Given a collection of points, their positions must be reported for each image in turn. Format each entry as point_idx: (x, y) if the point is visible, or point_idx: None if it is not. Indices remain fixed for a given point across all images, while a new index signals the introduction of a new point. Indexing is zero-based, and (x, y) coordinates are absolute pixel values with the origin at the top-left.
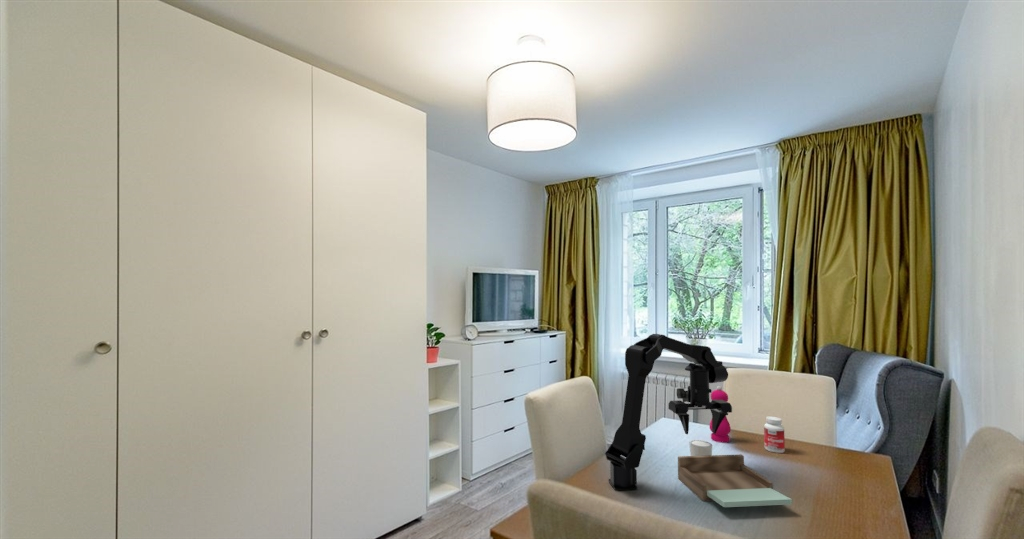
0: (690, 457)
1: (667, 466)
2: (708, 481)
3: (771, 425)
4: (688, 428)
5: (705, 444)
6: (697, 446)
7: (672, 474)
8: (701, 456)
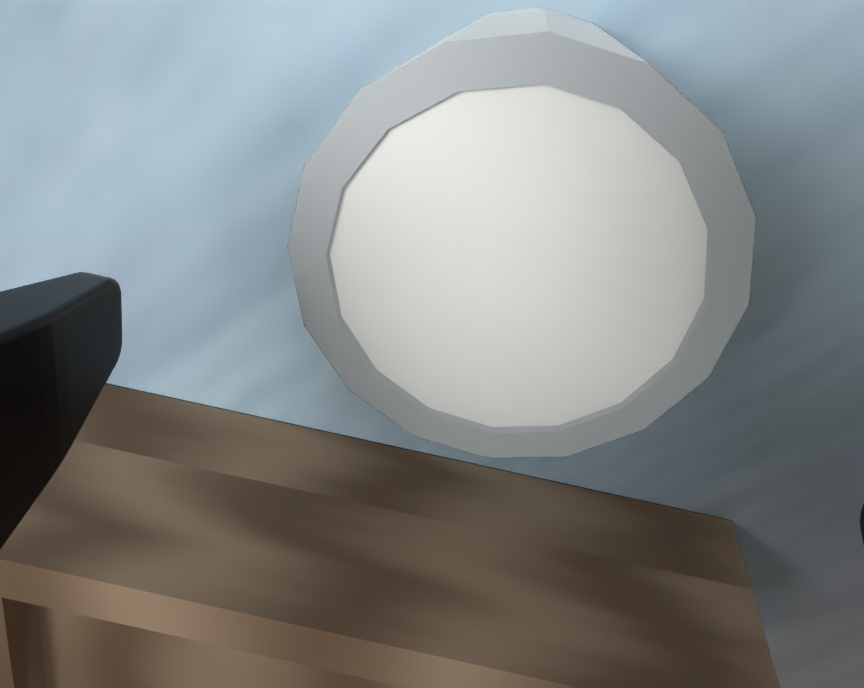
0: (20, 596)
1: (39, 24)
2: (160, 668)
3: None
4: (13, 522)
5: (581, 334)
6: (344, 372)
7: (10, 259)
8: (185, 619)
